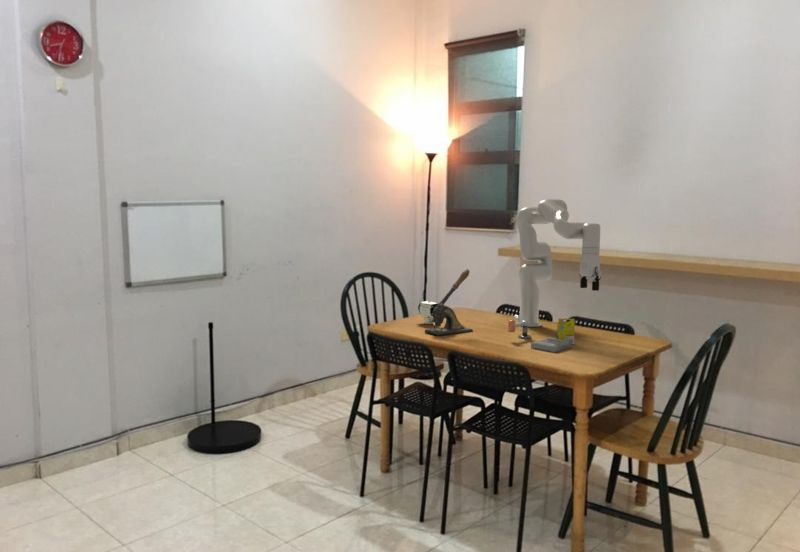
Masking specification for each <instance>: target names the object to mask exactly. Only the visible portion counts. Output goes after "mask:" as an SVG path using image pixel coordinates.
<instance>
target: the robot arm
mask: <svg viewBox="0 0 800 552" xmlns="http://www.w3.org/2000/svg"><path fill="white" fill-rule="evenodd" d="M569 217H570V214H569V212H568V205H567V203H566V201H564V200H562V199H557V198H556V199H553V198H551V199H550V198H549V199H547V198H546V199H543V200H541V201H539V203H538V204H537V206H530V207H529V206H528V207H527V206H526V207H524V208H521V209H520V210H519V212H518V213H517V217H516V224H517V229H518V235H519V246H520V247H519V248H520V256H521V259H522V260H523V261H527V262H528V261H529V262H530V261H531V263H525V264H523V265H521V266H520V268H519V270H518V276H519V283H520V286H519V287H520V293H519V294H520V296H519V297H520V298H519V315H518V314H515V315H514V316H513V320H517V321H515V323H518V322H520V321H521V320H529V321H530V326H528V328H537V327H541V326H542V322H541V321H539V313H540V311H539V310H540V309H539V308H540V288H539V286H538V284H537V283H538V282H540V283H541V282H542V283H543V282H548V281H550V280H551V279H552V277H553V260H552V259H553V257H552V249H551V247H550V245H549V244H548V243H547V242H545V241H538V237H537V236H538V235H537V232H536V229H535V228H534V227H533V225H548V224H551V223H552V224H553V228H554V231H555V232H556V233H557V234H558V235H559V236H561V237H563V238H564V239H566V240H582V246H581V256H580V260H579V268H578V273H579V274H578V275H579V279H580V280H579V281H580V285H579V288H580V289H587V288H588V278H591V279H592V282H591V290H592V291H593V292H594V291H596V292H597V291H600V282H601V278H602V275H603V271H601V262H600V251H601V250H600V249H601V248H600V247H601V225H600V224H598V223H589V222H569V221H568V220H569ZM533 261H535V262H533ZM536 261H537V262H536ZM532 262H533V263H532Z"/></svg>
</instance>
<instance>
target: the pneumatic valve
mask: <svg viewBox="0 0 800 552" xmlns="http://www.w3.org/2000/svg"><path fill="white" fill-rule="evenodd" d="M438 303H439V302H433V301H431V300H426V301H419V304H418V305H417V310H418V313H419V315H423V323H424V324H425V325H433V324H434V322H433V309H434V308H435V307H436V306H437V305H438Z"/></svg>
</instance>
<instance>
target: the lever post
mask: <svg viewBox="0 0 800 552" xmlns="http://www.w3.org/2000/svg"><path fill="white" fill-rule="evenodd" d="M521 327H522V328H521V329H522V331H521V334H518V335H517V337H518V338H519V339H525V340H528V339H529V340H530V339H532V335H531V334H528V332H529V330H528V329H529V327H528V326H521Z"/></svg>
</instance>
